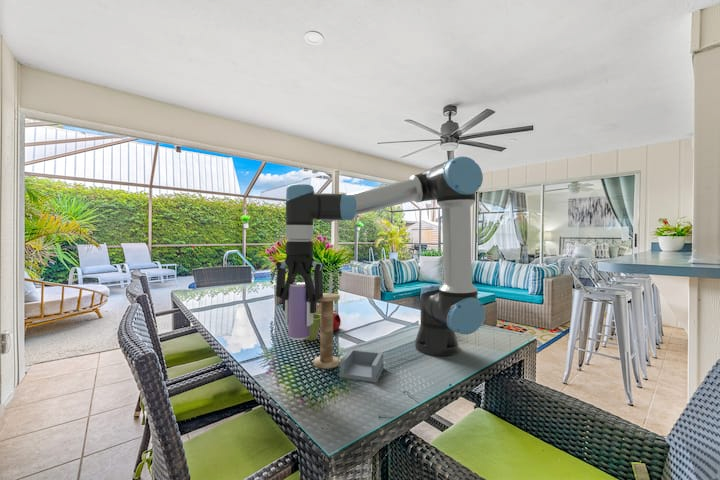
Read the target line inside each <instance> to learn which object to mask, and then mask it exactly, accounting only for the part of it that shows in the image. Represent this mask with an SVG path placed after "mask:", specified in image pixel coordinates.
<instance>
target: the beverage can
mask: <svg viewBox="0 0 720 480" xmlns="http://www.w3.org/2000/svg"><path fill="white" fill-rule="evenodd" d="M308 301H309V297H308V293H307V290H306V285H305V282H304V281H294V283H293V284H289V288H288V324H287V327H288V328H287V329H288V332H287V333H288V334H287V335H288V337H289V339H291V340H292V341H293V340H295V341H301V340H303V339H306V338H308V337H309V335H310V326H307V302H308Z"/></svg>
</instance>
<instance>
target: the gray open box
mask: <svg viewBox="0 0 720 480" xmlns="http://www.w3.org/2000/svg"><path fill="white" fill-rule="evenodd" d="M339 368H340V369H339V372H338V377H339V378H342V379H349V380H356V381H362V382H370V383H378V381H379V379H380V376H381V375H382V372H383V370H384V369H385V363H384V352H382V351H374V350H363V349H357V348H350V349H349V350H348V351H347V352H346V354H345V355H344V356H343V357H342V358H341V359H340V360H339Z"/></svg>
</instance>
